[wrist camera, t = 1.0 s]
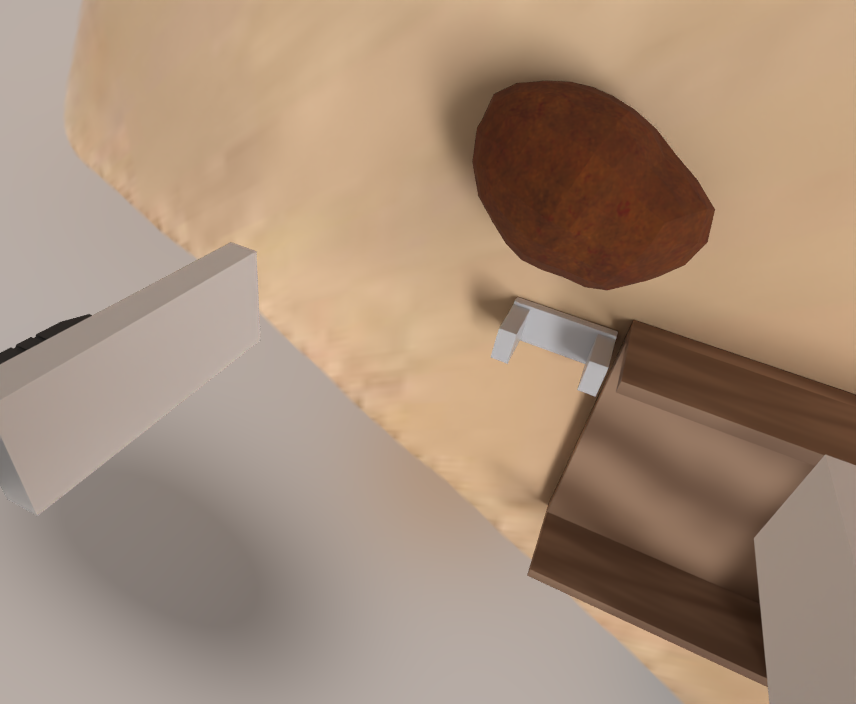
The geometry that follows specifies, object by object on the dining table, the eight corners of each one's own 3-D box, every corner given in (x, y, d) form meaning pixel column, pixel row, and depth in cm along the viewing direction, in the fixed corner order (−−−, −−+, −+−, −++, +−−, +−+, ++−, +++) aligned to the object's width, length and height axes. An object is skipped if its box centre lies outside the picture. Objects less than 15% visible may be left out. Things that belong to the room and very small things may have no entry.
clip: (517, 296, 32) (499, 325, 29) (618, 331, 31) (609, 364, 28) (507, 330, 33) (489, 360, 31) (603, 364, 32) (594, 399, 29)
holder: (633, 319, 30) (621, 381, 25) (943, 424, 27) (997, 518, 22) (547, 505, 40) (527, 575, 35) (766, 599, 36) (777, 691, 32)
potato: (641, 295, 29) (625, 375, 23) (464, 176, 30) (403, 223, 24) (755, 174, 24) (773, 234, 18) (542, 33, 25) (490, 45, 19)
